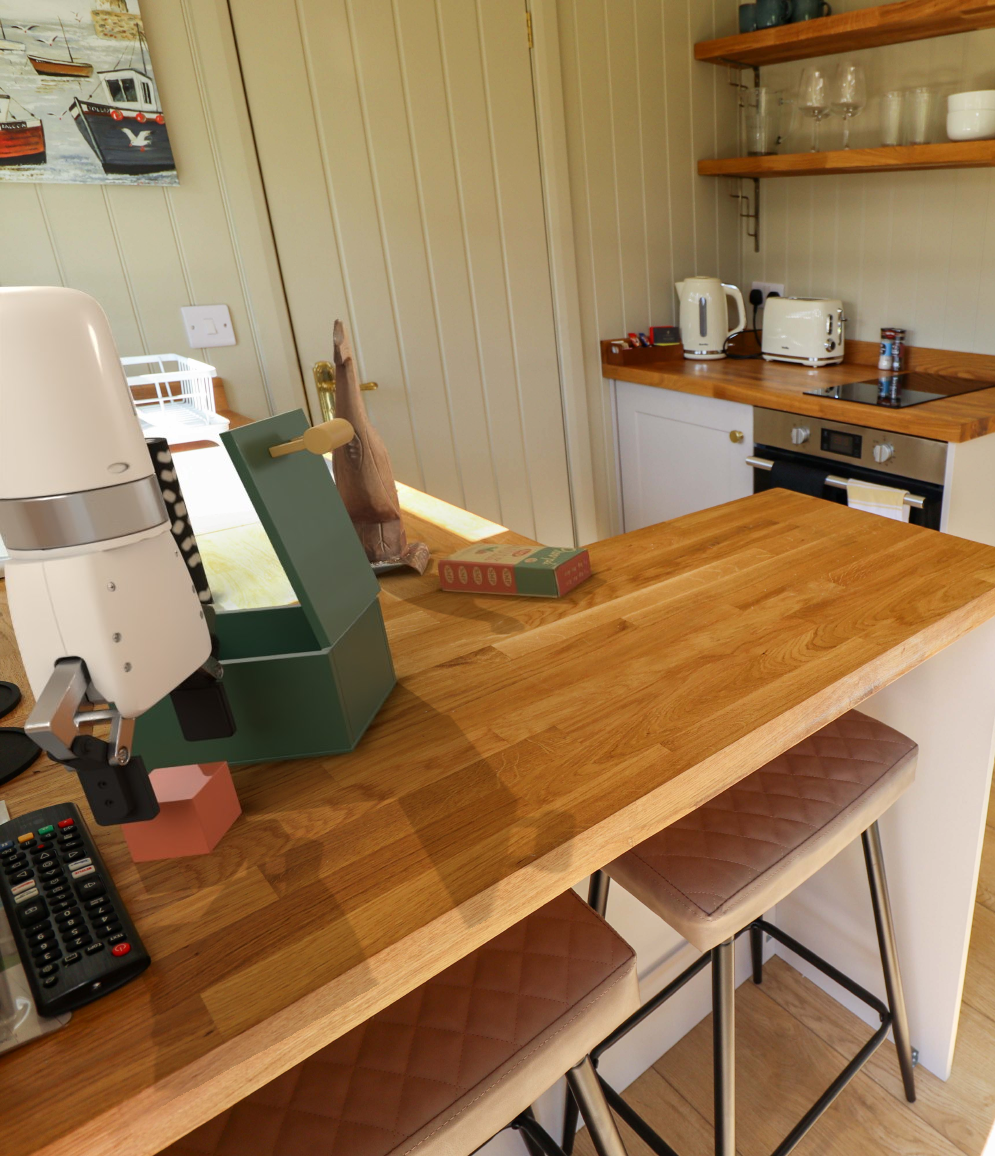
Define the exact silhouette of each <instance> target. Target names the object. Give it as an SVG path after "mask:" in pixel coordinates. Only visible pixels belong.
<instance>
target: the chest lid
mask: <svg viewBox="0 0 995 1156" xmlns="http://www.w3.org/2000/svg"><path fill="white" fill-rule="evenodd" d="M218 436H219V438H220V440H221V442H222V444H223V446H224V448H225V451H226V452H227V455H228V456H229V458H230V461H231V463H232V465H233V467H234V470H235V471H236V474H237V475H238V477H239V480H240V482H241V484H242V486H243V488H244V490H245V492H246V494H247V496H248V498H249V501H250V502H251V505H252V507H253V509H254V511H255V513H256V515H257V517H258V519H259V522H260V523H261V525H262V528H263V530H264V533H265V534H266V537H267V538H268V540H269V542H270V544H271V547H272V549H273V551H274V553H275V554H276V558H277V559H278V561H279V563H280V566H281V567H282V569H283V571H284V573H285V576H286V578H287V580H288V582H289V584H290V586H291V589H292V591H293V592H294V595H295V596H296V599H297V600H298V604H300V605H301V607H302V609H303V611H304V613H305V615H306V617H307V619H308V622H309V624H310V626H311V628H312V630H313V632H314V634H315V636H316V638H317V640H318V642H319V645H320V647H321V648H322V649H324V648H327V647H331V646H332V645H333V644H334V643H335V642H336V641H337V640H338V639H339V638H340V636H341V635H342V634H343V633H344V632H345V631H346V630H347V628H348V627H349V626H350V625H351V624H352V623H353V622H354V621H355V619H356V618H357V617H358V616H359V615H360V614H361V613H362V612H363V610H364V609H365V608H366V607H367V606H368V605H369V604H370V603H371V601H372V600H373V599H374V598H375V597H378V595H379V594H380V593H381V592H382V587H381V585H380V583H379V581H378V579H377V576H376V574H375V572H374V569H373V566H371V565H370V562H369V560H368V558H367V555H366V553H365V551H364V549H363V546H362V544H361V542H360V539H359V537H358V535H357V533H356V530H355V528H354V526H353V523H352V521H351V519H350V517H349V514H348V512H347V510H346V508H345V505H344V503H343V501H342V498H341V496H340V494H339V492H338V489H337V487H336V485H335V480H334V477H333V476H332V474H331V471H330V469H329V467H328V464H327V462H326V460H325V458H324V455H326V454H328V453H331V452H332V450H334V449H336V448H338V447H340V446H342V445H344V444H346V443H348V442H350V441H351V440H352V439H353V437H354V429H353V426H352V425H351V424H350V423H349V422H348V421H347V420H345V419H342V418H336V419H335V418H332V419H330V420H327V421H325V422H323V423H320V424H317V425H314V426H313V427H311V426H310V423H309V421H308V419H307V416H306V414H305V412H304V410H303V408H302V407H299V408H296V409H292V410H289V411H285V412H282V413H279V414H276V415H273V416H270V417H267V418H262V419H260V420H256V421H254V422H251V423H248V424H244V425H242V426H238V427H234V428H231V429H228V430H225V431H221V432H220V433H219V434H218Z"/></svg>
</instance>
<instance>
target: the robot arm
mask: <svg viewBox="0 0 995 1156" xmlns="http://www.w3.org/2000/svg"><path fill="white" fill-rule="evenodd" d="M131 392H132V391H131V389H130V386H129V383H128V380H127V377H126V374H125V370H124V367H123V363H122V360H121V357H120V354H119V350H118V347H117V344H116V340H115V338H114V334H113V330H112V328H111V325H110V322H109V319H108V317H107V315H106V312H105V311H104V309H103V307H102V306H101V304H100V303H99V302H98V301H97V300H96V299H95V298H94V297H93V296H92V295H90V294H88V293H86V292H84V291H82V290H80V289H75V288H72V287H66V286H65V287H63V286H55V285H54V286H53V285H31V286H30V285H25V286H24V285H23V286H19V285H18V286H0V537H1V540H2V542H3V543H2V544H3V545H4V547H5V550H6V553H7V555H8V557H9V558H10V559H8V560H7V561H5V562H3V567H4V568H3V571H4V583H5V584H4V585H5V590H6V598H7V605H8V610H9V614H10V618H11V624H12V628H13V632H14V635H15V639H16V643H17V646H18V650H19V654H20V658H21V661H22V664H23V669H24V671H25V674H26V677H27V681H28V683H29V687H30V689H31V693H32V694H33V698H34V701H35V704H34V706H33V708H32V710H31V711H30V713H29V715H28V716H27V719H26V721H25V723H24V728H23V729H24V733H25V735H26V736H27V737H28V738H29V739H30V740H31V741H33V742H34V743H35V744H36V745H37V746H38V747H40V748H41V749H42V750H43V751H44V752H45V753H46V757H47V758H48V759H49V760H50V761H51V762H54V763H57V764H60V765H63V767H64V769H65V771H66V772H69V773H73V772H76V775H77V777H78V780H79V782H80V785H81V788H82V790H83V793H84V795H85V798H86V800H87V803H88V806H89V808H90V809H89V810H91V813H92V816H93V819H94V822H95V823H96V824H97V825H98V826H99V827H110V826H119V825H120V824H126V823H134V822H141V821H149V820H153V819H154V818H155V817H156V816H157V815H158V814H159V813H160V807H159V804H158V801H157V798H156V795H155V792H154V790H153V787H152V784H151V781H150V778H149V776H148V773H147V770H146V767H145V764H144V761H143V759H142V756H141V755H137V756H131V750H132V743H133V735H134V728H135V720H136V717H138V716H140V715H141V714H143V713H144V712H146V711H147V710H148V709H150V708H151V707H152V706H153V705H155V704H156V703H157V702H158V701H160V700H161V699H162V698H163V697H165V696H166V695H167V694H168V693H169V694H170V697H171V700H172V703H173V706H174V709H175V712H176V715H177V718H178V721H179V724H180V727H181V730H182V733H183V736H184V739H185V740H186V741H188V742H194V741H202V740H210V739H219V738H227V737H231V736H233V734H234V733H235V732H236V731H237V727H236V724H235V720H234V717H233V714H232V711H231V707H230V704H229V701H228V698H227V694H226V691H225V688H224V685H223V681H221V682H216V680H221V679H222V678H223V675H224V670H223V666H222V665H221V664H220V663H219V662H218V661H217V660H218V653H219V647H220V644H219V642H220V640H219V639H218V637H217V636H215V635H214V634H216V614H215V612H216V610H215V609H216V608H214V606H212V605H210V604H208V605H204V604H200V601H199V598H198V595H197V592H196V590H195V587H194V584H193V581H192V579H191V576H190V574H189V571H188V569H187V566H186V564H185V562H184V559H183V557H182V555H181V552H180V550H179V548H178V546H177V544H176V542H175V540H174V537H173V535H172V534H171V532H170V529H171V527H172V525H171V522H170V519H169V516H168V512H167V509H166V506H165V503H164V500H163V496H162V493H161V490H160V487H159V483H158V480H157V477H156V474H155V473H154V472H155V470H154V467H153V464H152V460H151V457H150V454H149V451H148V447H147V444H146V441H145V438H146V437H145V435H144V431H143V428H142V425H141V421H140V417H139V415H138V412H137V409H136V406H135V403H134V399H133V396H132V393H131ZM178 685H180V686H178ZM177 686H178V687H177ZM111 703H115V705H116V708H110V709H109V708H102V709H95V708H96V707H97V706H100V705H108V704H111ZM105 725H106V726H107V725H110V728H109V729H110V730H109V736H108V741H106V740H103V739H101V738H99V737H96V736H93V734H94V729H95V727H97V726H105Z"/></svg>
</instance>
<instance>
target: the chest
mask: <svg viewBox="0 0 995 1156" xmlns="http://www.w3.org/2000/svg"><path fill="white" fill-rule="evenodd" d="M215 614H216V634H214V635H215V636H217V637H218V639H219V640H220V642H219V644H220V647H219V653H218V660H217V661H218V662H219V663H220V664H221V665H222V666H223V670H224V675H223V678H222V679H221V680H216V682H221V681H223V685H224V688H225V691H226V694H227V698H228V701H229V704H230V707H231V711H232V714H233V717H234V720H235V724H236V727H237V731H236V732H235V733H234V734H233V736H231V737H227V738H219V739H210V740H202V741H194V742H188V741H186V740H185V739H184V736H183V733H182V730H181V727H180V724H179V721H178V718H177V715H176V712H175V709H174V706H173V703H172V700H171V697H170V694H169V693H168V694H167V695H166V696H165V697H163V698H162V699H161V700H160V701H158V702H157V703H156V704H155V705H153V706H152V707H151V708H150V709H148V710H147V711H146V712H144V713H143V714H141V715H140V716H138V717H136V720H135V728H134V735H133V743H132V750H131V756H137V755H141V756H142V759H143V761H144V764H145V767H146V770H147V773H148V775H149V774H150V773H151V772H152V771H153V770H154V769H161V768H169V767H178V766H187V765H196V764H204V763H213V762H222V761H227V765H228V767H236V766H245V765H254V764H262V763H270V762H271V763H272V762H279V761H280V762H281V761H287V760H297V759H306V758H316V757H323V756H331V755H341V754H348V753H349V754H350V753H353V752H354V751H355V749H356V747H357V745H358V744H359V742H360V741H361V739H363V736H364V734H365V733H366V731H367V730H368V728H369V727H370V725H371V724H372V722H373V720H374V719H375V717H376V716H377V714H378V712H379V711H380V710H381V708H382V706H383V705H384V703H385V702H386V700H387V698H388V697H389V695H390V694H391V692H392V690H394V687H395V686H396V684H397V683H398V680H397V676H396V672H395V667H394V662H393V657H392V654H391V647H390V644H389V638H388V634H387V630H386V625H385V621H384V617H383V611H382V607H381V602H380V598H379V596H376V597H375V598H374V599H373V600H372V601H371V603H370V604H369V605H368V606H367V607H366V608H365V609H364V610H363V612H362V613H361V614H360V615H359V616H358V617H357V618H356V619H355V621H354V622H353V623H352V624H351V625H350V626H349V627H348V628H347V630H346V631H345V632H344V633H343V634H342V635H341V636H340V638H339V639H338V640H337V641H336V642H335V643H334V644H333V645H332V646H331V647H327V648H324V649H322V648H321V647H320V645H319V642H318V640H317V638H316V636H315V634H314V632H313V630H312V628H311V626H310V624H309V622H308V619H307V617H306V615H305V613H304V611H303V609H302V607H301V605H300V603H293V604H292V603H291V604H283V605H281V604H280V605H271V606H261V607H252V608H251V607H249V608H239V609H228V610H217V611H216V610H215ZM178 686H180V685H178ZM178 686H177V687H178ZM107 706H108V709H110V708H116V705H115V703H111V704H107Z"/></svg>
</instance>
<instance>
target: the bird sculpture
mask: <svg viewBox="0 0 995 1156" xmlns="http://www.w3.org/2000/svg"><path fill="white" fill-rule="evenodd" d="M347 329H348V328H347V326H346V324H345V323H344V322H343V320H341V319H340V318H337V319H335V320H334V322H333V329H332V330H333V332H332V339H333V342H332V343H333V345H332V347H333V350H332V351H333V354H332V355H333V356H332V358H333V363H334V365H335V368H334V369H335V370H334V371H335V372H334V419H336V418H342V419H345V420H347V421H348V422H349V423H350V424H351V425H352V426H353V429H354V437H353V439H352V440H351V441H350V442H348V443H346V444H344V445H342V446H340V447H338V448H336V449H334V450H332V451H331V466H332V469H331V470H332V475H333V480H334V482H335V485H336V487H337V489H338V492H339V494H340V496H341V498H342V501H343V503H344V505H345V508H346V510H347V512H348V514H349V517H350V519H351V521H352V523H353V526H354V528H355V530H356V533H357V535H358V537H359V539H360V542H361V544H362V546H363V549H364V551H365V553H366V555H367V558H368V560H369V562H370V565H371V567H378V566H380V565H381V566H382V565H396V564H403V565H404V564H405V565H406V566H409V567H411V568H413V569H414V570H416V571H417V572H418V573H419V574H420V575H421V576H423V574H424V572H425V571H426V568H427V565H428V563H429V560H430V556H431V555H430V550H429V548H428V546H427V545H426V544H425V543H424V542H421V541H417V542H408V541H407V536H406V535H407V534H406V530H405V527H404V521H403V517H402V512H401V507H400V500H399V495H398V491H397V487H396V482H395V478H394V472H393V468H392V463H391V460H390V455H389V451H388V450H387V447H386V445H385V443H384V441H383V440H382V438H381V436H380V435H379V433H378V432H377V430H376V429H375V427H374V425H373V424H372V422H371V421H370V420H369V418H368V415H367V412H366V410H365V404H364V401H363V396H362V394H361V392H362V391H361V387H360V383H359V381H358V376H357V371H356V366H355V362H354V357H353V351H352V347H351V343H350V338H349V335H348V330H347Z"/></svg>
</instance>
